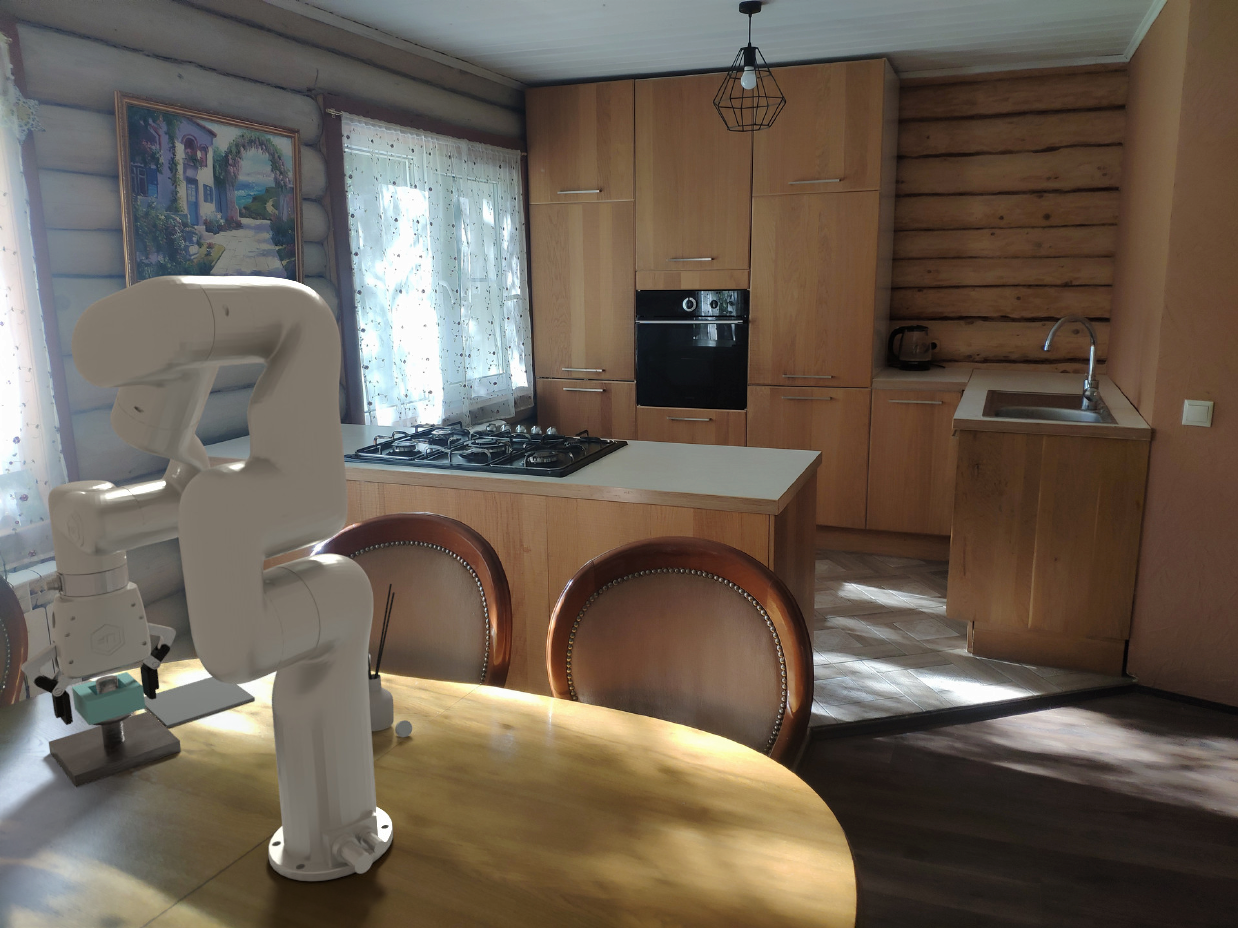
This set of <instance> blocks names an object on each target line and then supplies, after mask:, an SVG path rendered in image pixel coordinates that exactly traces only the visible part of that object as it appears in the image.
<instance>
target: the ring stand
mask: <svg viewBox="0 0 1238 928" xmlns="http://www.w3.org/2000/svg"><path fill="white" fill-rule="evenodd" d="M95 681H96V688H97V695H99V694H103V693H106V692H110V691H113V690H117V689H119V687H118V679H117V676H114V674H113V675H112V674H111V675H105V676H101V677H98V678H97V679H96V680H95ZM134 713H135V712H131V713H128V714H125V715H122V716H118V717H115V718H112V719H108V720H105V721H102V722H98V723H95V724H92V726H95V727H92V728H90V729H85V730H83V731H80V732H76V733H73V734H70V735H66V736H63V737H59V738H56V739H53V740H50V741H48V746H49V747H48V748H49V753H50V755H51V756H52V757H53V759H54V760H55V762H56V763H57V765H59V767H60V768H61V769H62V771H63V772H64V774H65V775H66V776H67V778H69V780H70V781H71V783H72V784H73V786H74V787H75V788H78V787H81V786H83V785H87V784H90V783H93V782H95V781H98V780H101V779H104V778H107V777H110V776H113V775H116V774H119V773H122V772H125V771H127V770H130V769H129V768H131V769H133V768H137V767H139V766H142V765H146V764H147V763H150V762H154V761H157V760H160V759H163V758H166V757H169V756H171V755H174V754H177V753H179V752H182V748H181V740H180V739H179V738H178V737H177V736H175V734H174V733H173V732H172V731H170V730H169V728H167V727H166V726H165V725H164V724H162V723H161V722H160V721H159V720H158V719H157V718H156V717H155V716H154V715H153V714H152V713H151V712H150V711H149V710H147V711H145V712H142V713H138V714H134ZM165 756H166V757H165ZM162 757H163V758H162ZM156 759H157V760H156ZM124 770H125V771H124ZM118 772H119V773H118ZM115 773H116V774H115Z"/></svg>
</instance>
